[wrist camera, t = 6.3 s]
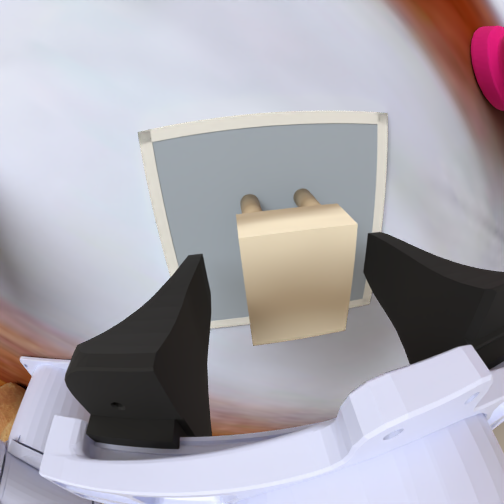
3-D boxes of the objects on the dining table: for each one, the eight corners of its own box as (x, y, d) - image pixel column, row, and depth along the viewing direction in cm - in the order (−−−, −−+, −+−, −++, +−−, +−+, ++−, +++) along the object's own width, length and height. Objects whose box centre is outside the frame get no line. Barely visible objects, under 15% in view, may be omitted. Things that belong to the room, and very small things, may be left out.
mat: (367, 300, 18) (369, 304, 18) (187, 325, 18) (187, 330, 17) (383, 112, 12) (387, 113, 12) (140, 131, 12) (137, 132, 11)
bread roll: (55, 393, 22) (36, 454, 15) (74, 439, 28) (65, 484, 22) (-11, 361, 20) (-35, 413, 13) (20, 416, 26) (7, 457, 19)
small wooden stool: (233, 190, 13) (238, 237, 9) (315, 182, 14) (357, 223, 9) (244, 278, 16) (253, 345, 12) (315, 268, 16) (345, 330, 12)
